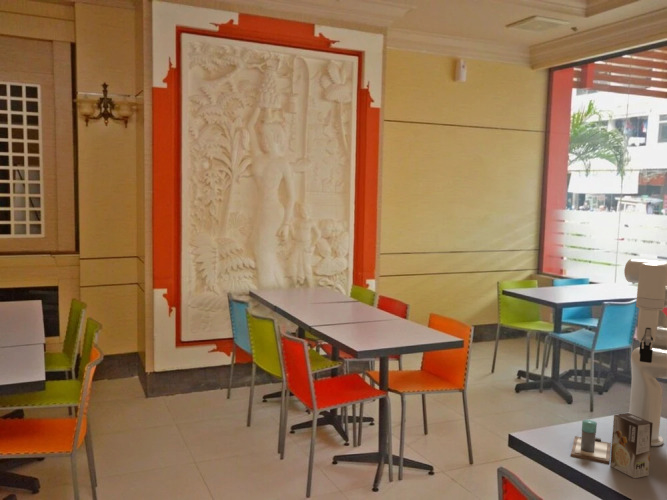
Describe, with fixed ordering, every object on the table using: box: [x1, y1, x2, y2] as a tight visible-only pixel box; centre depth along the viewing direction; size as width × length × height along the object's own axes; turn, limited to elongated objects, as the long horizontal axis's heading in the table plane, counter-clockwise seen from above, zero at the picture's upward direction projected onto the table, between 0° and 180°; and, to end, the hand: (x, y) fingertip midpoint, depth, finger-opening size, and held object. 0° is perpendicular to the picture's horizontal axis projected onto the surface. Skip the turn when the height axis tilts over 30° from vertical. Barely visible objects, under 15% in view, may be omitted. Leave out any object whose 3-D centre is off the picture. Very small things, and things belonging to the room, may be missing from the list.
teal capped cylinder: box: [581, 419, 598, 452], centre depth 194 cm, size 4×4×9 cm
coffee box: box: [609, 412, 653, 479], centre depth 182 cm, size 9×6×16 cm
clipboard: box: [570, 435, 612, 465], centre depth 197 cm, size 16×11×2 cm
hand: (645, 358), depth 188 cm, fingers open, 9 cm apart
